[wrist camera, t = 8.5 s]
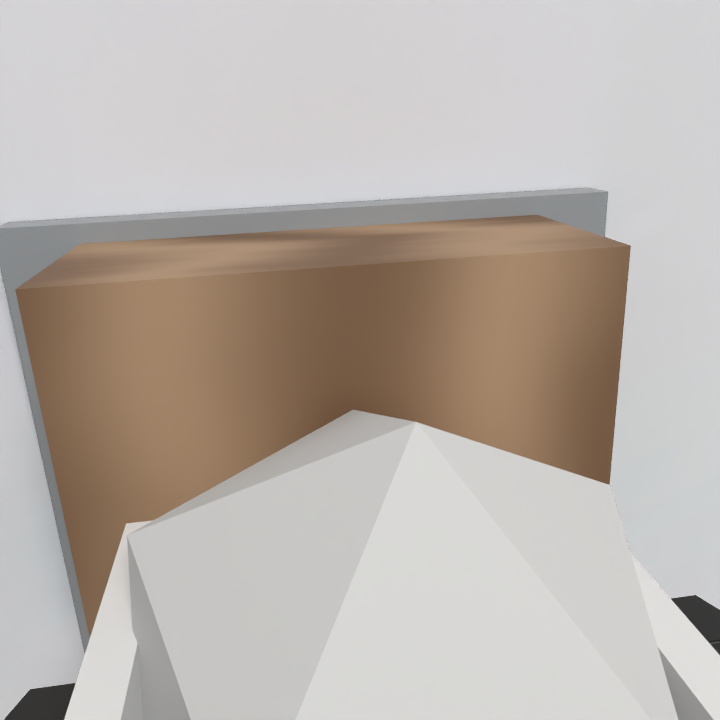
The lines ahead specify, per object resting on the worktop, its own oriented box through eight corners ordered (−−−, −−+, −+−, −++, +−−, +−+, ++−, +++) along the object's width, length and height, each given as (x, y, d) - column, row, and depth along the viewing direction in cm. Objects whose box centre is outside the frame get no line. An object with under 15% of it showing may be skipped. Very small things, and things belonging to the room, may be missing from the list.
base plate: (93, 626, 22) (84, 652, 21) (8, 222, 18) (-9, 228, 17) (563, 565, 24) (578, 587, 23) (588, 187, 20) (608, 191, 19)
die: (61, 458, 14) (-6, 1154, 9) (340, 189, 9) (575, 1409, 4) (359, 514, 19) (430, 972, 14) (639, 361, 14) (915, 981, 9)
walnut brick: (148, 630, 21) (118, 774, 17) (79, 243, 17) (14, 289, 13) (521, 582, 23) (590, 701, 18) (537, 214, 19) (631, 245, 14)
